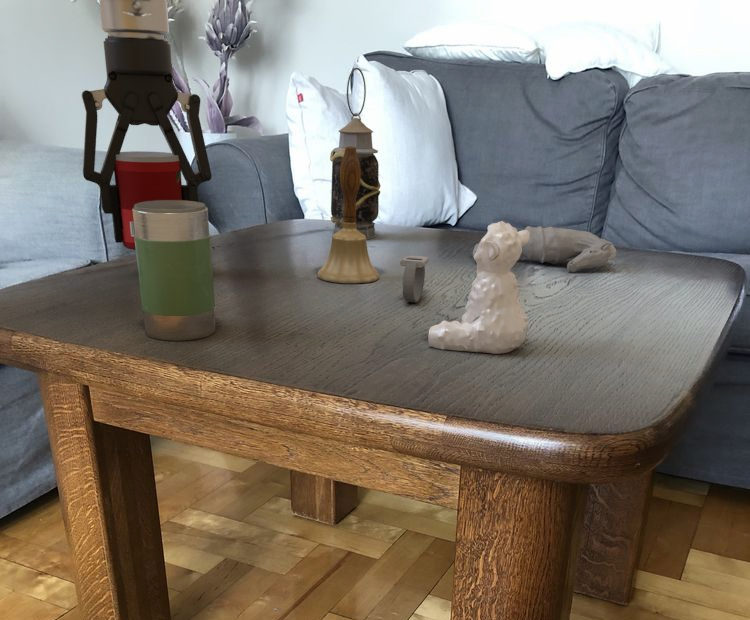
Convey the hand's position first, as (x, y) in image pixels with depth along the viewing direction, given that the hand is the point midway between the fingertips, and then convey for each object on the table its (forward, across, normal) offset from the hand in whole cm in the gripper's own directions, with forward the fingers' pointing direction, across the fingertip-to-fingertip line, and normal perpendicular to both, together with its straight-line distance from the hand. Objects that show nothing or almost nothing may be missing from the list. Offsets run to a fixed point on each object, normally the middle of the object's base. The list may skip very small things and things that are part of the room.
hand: (153, 239), depth 105 cm
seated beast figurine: (+4, +28, -40) cm, 49 cm away
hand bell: (+4, +24, -7) cm, 26 cm away
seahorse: (+4, +54, -6) cm, 55 cm away
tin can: (+4, 0, -28) cm, 28 cm away
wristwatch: (+4, +28, -22) cm, 35 cm away
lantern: (+4, +35, +22) cm, 42 cm away
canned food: (+1, 0, 0) cm, 1 cm away
